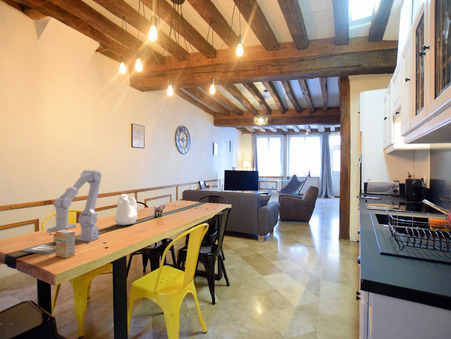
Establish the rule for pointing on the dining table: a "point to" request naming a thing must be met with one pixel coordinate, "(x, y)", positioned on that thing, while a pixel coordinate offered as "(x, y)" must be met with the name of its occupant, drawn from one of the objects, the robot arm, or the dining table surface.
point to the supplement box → (65, 243)
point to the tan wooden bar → (75, 240)
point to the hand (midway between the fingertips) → (61, 242)
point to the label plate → (41, 249)
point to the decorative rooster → (126, 210)
